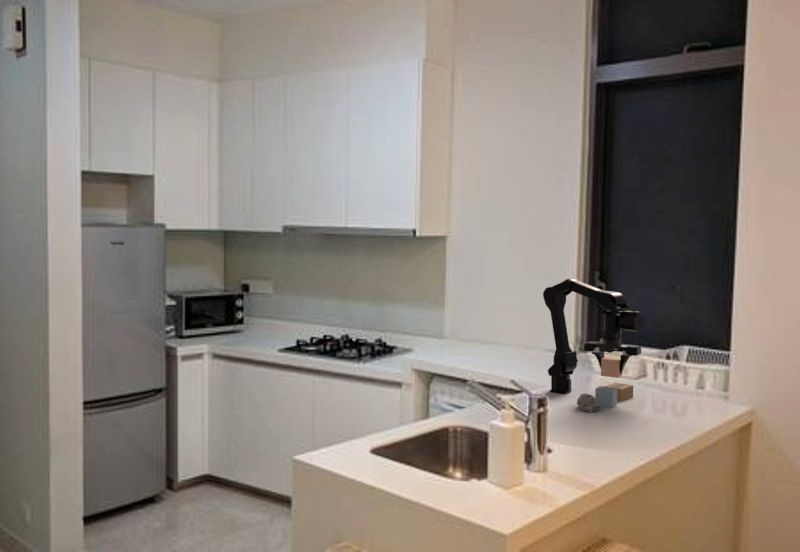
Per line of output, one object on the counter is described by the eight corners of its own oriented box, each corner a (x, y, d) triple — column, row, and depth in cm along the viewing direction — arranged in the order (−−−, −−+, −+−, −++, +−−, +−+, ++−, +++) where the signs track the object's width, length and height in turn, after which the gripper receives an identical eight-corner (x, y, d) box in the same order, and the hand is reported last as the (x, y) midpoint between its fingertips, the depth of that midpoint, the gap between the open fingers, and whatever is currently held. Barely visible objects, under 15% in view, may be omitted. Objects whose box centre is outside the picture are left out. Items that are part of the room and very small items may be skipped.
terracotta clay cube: (600, 375, 252) (601, 358, 252) (605, 373, 257) (605, 356, 256) (618, 377, 249) (618, 360, 249) (622, 375, 253) (622, 358, 253)
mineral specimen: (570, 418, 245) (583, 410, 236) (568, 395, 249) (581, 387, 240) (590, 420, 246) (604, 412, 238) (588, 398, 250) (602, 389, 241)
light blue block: (595, 405, 248) (595, 388, 248) (599, 402, 252) (600, 385, 252) (612, 408, 245) (612, 390, 244) (617, 405, 249) (617, 388, 249)
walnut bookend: (603, 398, 259) (603, 386, 259) (615, 394, 266) (615, 382, 265) (621, 401, 254) (621, 389, 254) (633, 397, 261) (633, 385, 261)
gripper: (578, 329, 250) (578, 373, 251) (633, 333, 240) (632, 379, 241) (589, 325, 259) (588, 368, 260) (642, 329, 249) (641, 374, 250)
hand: (611, 372), depth 253 cm, fingers closed on terracotta clay cube, 6 cm apart
